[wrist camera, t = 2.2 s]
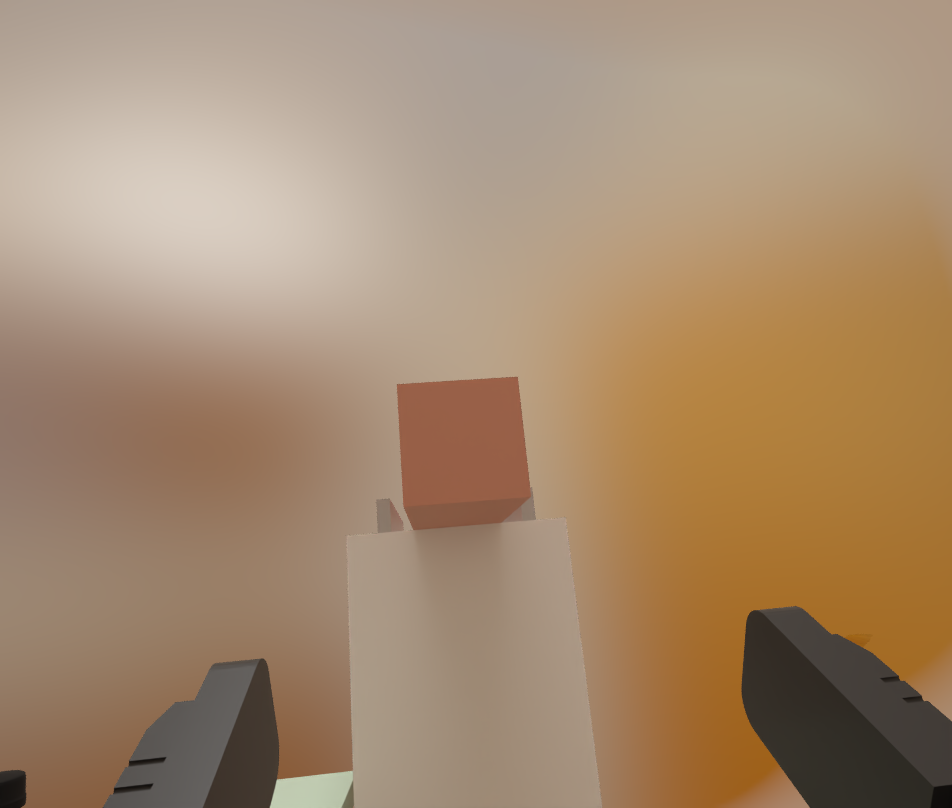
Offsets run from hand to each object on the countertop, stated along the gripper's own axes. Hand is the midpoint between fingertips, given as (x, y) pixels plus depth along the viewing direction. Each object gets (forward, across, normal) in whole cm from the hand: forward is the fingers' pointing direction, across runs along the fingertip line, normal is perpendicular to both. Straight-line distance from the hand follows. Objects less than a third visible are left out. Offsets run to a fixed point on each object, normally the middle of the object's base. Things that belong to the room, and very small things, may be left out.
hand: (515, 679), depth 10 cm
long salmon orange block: (+18, 0, +6) cm, 19 cm away
